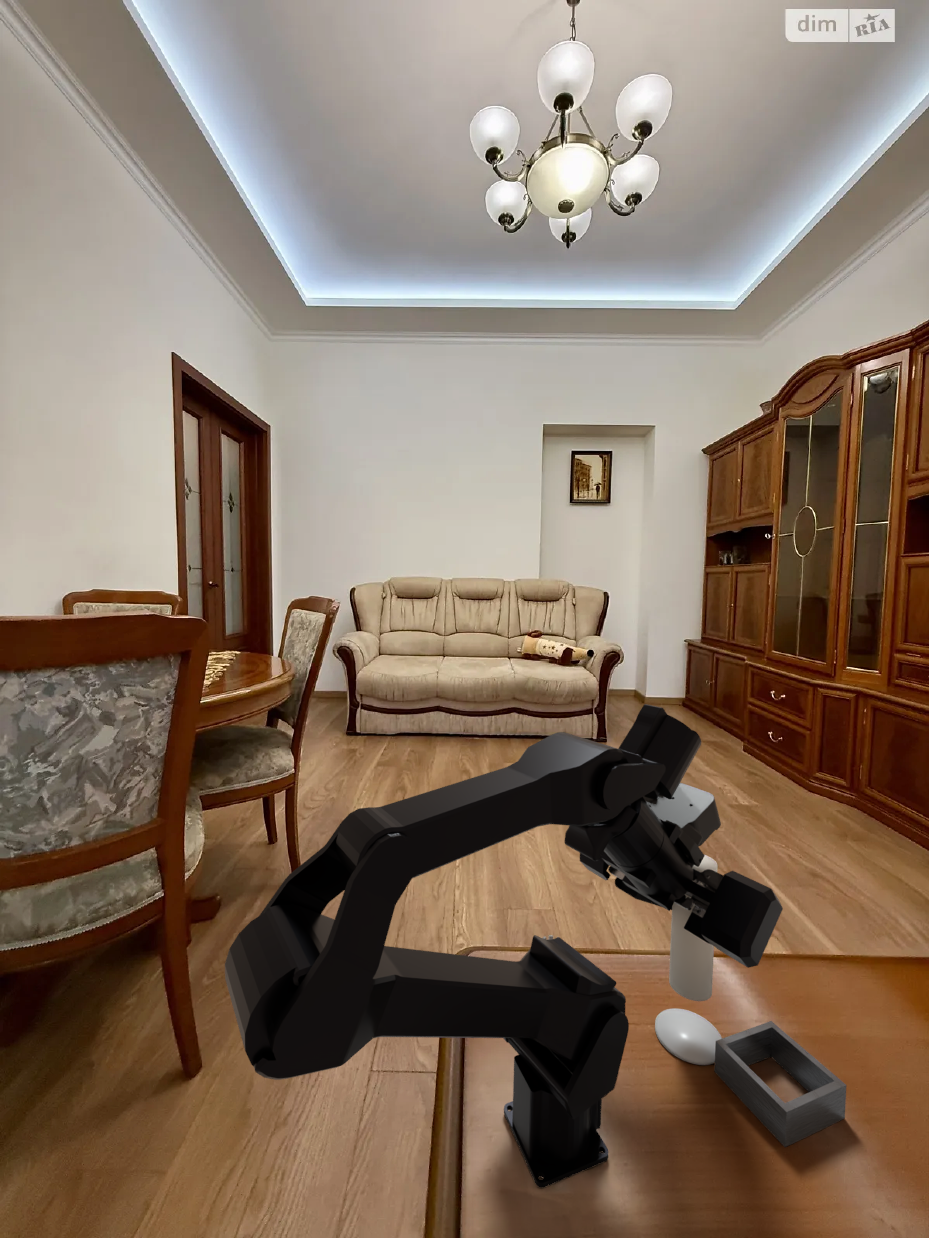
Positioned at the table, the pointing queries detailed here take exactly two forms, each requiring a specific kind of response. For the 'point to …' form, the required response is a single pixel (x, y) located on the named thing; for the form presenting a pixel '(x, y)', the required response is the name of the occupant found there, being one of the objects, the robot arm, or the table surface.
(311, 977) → the robot arm
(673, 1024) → the white oval disc
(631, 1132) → the table surface
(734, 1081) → the frame
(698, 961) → the cream peg
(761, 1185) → the table surface
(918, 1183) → the table surface
